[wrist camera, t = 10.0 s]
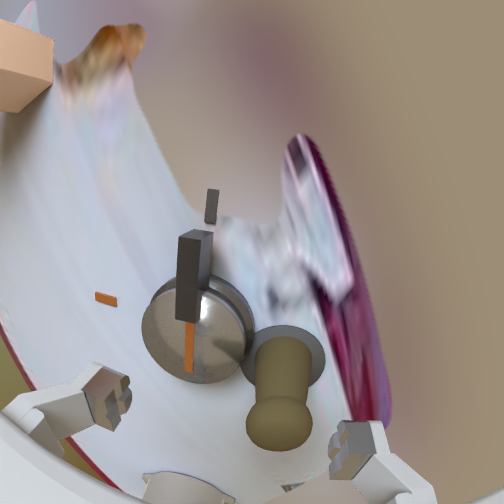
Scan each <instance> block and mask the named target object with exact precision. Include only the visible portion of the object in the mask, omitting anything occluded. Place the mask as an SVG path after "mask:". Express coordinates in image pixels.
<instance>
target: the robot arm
mask: <svg viewBox="0 0 504 504" xmlns="http://www.w3.org/2000/svg"><path fill="white" fill-rule="evenodd" d="M129 384H130V380H129V376H127V375H125V374H122V373H120V372H117V371H115V370H113V369H110V368H108V367H106V366H103V365H101V364H99V363H97V362H93V363H91V364H90V365H89V366H88V367H87V368H86V369H85V370H84V371H83V372H82V373H81V374H80V375H79V376H78V377H77V378H76V379H75V380H74V381H73V382H72V383H71V384H68V383H65V384H61V385H57V386H54V387H50V388H46V389H41V390H37V391H33V392H29V393H24V394H20V395H18V396H17V397H16V398H15V399H14V400H13V401H12V402H11V403H10V404H9V405H8V406H6V408H4V409H3V410H2V411H1V412H0V504H234V502H235V499H234V498H232V497H230V496H228V495H225V494H223V493H222V492H220V491H219V490H218V489H216V488H215V487H213V486H211V485H210V484H208V483H205V482H203V481H201V480H198V479H195V478H193V477H189V476H186V475H182V474H178V473H172V472H158V473H155V474H143V477H142V478H143V480H144V481H145V483H146V484H147V485H146V488H145V490H144V493H143V495H142V498H141V499H139V498H136V497H134V496H131V495H129V494H127V493H124V492H122V491H120V490H118V489H115V488H113V487H111V486H109V485H107V484H105V483H103V482H101V481H99V480H97V479H95V478H93V477H91V476H90V475H88V474H86V473H84V472H82V471H81V470H79V469H77V468H75V467H74V466H72V465H70V464H69V463H67V462H65V461H64V460H62V459H61V457H62V456H63V455H64V450H63V448H62V447H61V445H60V443H59V440H62V439H64V438H66V437H68V436H71V435H73V434H75V433H77V432H80V431H82V430H84V429H86V428H88V427H90V426H92V425H95V424H97V425H99V426H102V427H104V428H106V429H108V430H111V431H113V432H114V430H115V429H116V427H117V426H118V424H119V423H120V421H121V417H120V415H122V414H124V413H127V411H128V409H129V408H130V405H131V402H132V391H131V390H130V389H129V387H128V385H129ZM94 423H95V424H94ZM337 430H338V431H337V432H335V433H334V434H333V435H332V437H331V439H330V442H329V445H328V457H329V458H330V459H331V460H332V462H331V463H330V465H329V476H330V480H352V483H353V484H354V485H355V487H356V488H357V489H358V490H359V492H360V493H361V494H362V496H363V497H364V498H365V500H366V501H367V502H368V504H437V500H436V496H435V493H434V489H433V486H432V485H430V484H429V483H428V482H427V481H426V480H424V479H423V478H422V477H421V476H420V475H418V474H417V473H416V472H415V471H414V470H413V469H411V468H410V467H409V466H408V465H407V464H406V463H405V462H403V461H402V460H401V459H400V458H399V457H398V456H397V455H395V454H394V453H390V449H389V446H388V442H387V438H386V435H385V431H384V428H383V424H382V422H381V421H350V420H342V421H340V422H339V424H338V426H337ZM466 504H504V486H503V487H502V488H499V489H497V490H495V491H493V492H491V493H489V494H487V495H485V496H482V497H480V498H478V499H475V500H473V501H470V502H468V503H466Z"/></svg>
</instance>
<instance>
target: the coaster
mask: <svg viewBox="0 0 504 504" xmlns="http://www.w3.org/2000/svg"><path fill="white" fill-rule="evenodd" d="M279 336H285V337H292V338H296V339H299V340H300V341H302V342H303V343H305V344H306V345H307V347H308V348H309V349H310V351H311V354H312V365H311V373H310V380H309V387H310V386H311V385H312V384H314V383H315V382H316V381H317V380H318V378H319V377H320V376H321V374H322V372H323V370H324V367H325V353H324V350H323V347H322V345H321V343H320V342H319V341H318V339H317V338H316V337H315V336H313V335H312V334H311V333H309V332H308V331H306V330H304V329H301V328H298V327H294V326H288V325H278V326H272V327H268V328H265V329H262V330H260V331H258V332H257V333H255V334H254V335H253V340H252V344H251V347H250V349H249V352H248V353H247V355H246V357H245V358H244V359H243V360H242V361H241V362H240V364H241V368H242V371H243V373H244V375H245V377H246V378H247V379H248V380H249V381H250V382H251V383H252V384H253V385H254V386H255V354H256V352H257V349H258V348H259V347H260V346H261V345H262V344H263V343H264V342H266V341H267V340H269V339H271V338H275V337H279Z"/></svg>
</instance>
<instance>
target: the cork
mask: <svg viewBox="0 0 504 504" xmlns="http://www.w3.org/2000/svg"><path fill="white" fill-rule="evenodd" d="M311 365H312V354H311V351H310V349H309V348H308V347H307V345H306V344H305V343H303V342H302V341H300V340H299V339H296V338H292V337H285V336H279V337H275V338H271V339H269V340H267V341H266V342H264V343H263V344H262V345H261V346H260V347H259V348H258V349H257V352H256V354H255V388H256V404H255V405H254V406H253V407H252V408H251V410H250V412H249V414H248V416H247V419H246V431H247V434H248V436H249V437H250V439H251V441H252V442H253V443H254V444H255V445H257V446H258V447H260V448H263V449H265V450H270V451H288V450H292V449H295V448H297V447H299V446H301V445H302V444H303V443H304V442H305V441H306V440H307V438H308V437H309V436H310V434H311V430H312V425H313V422H312V417H311V414H310V411H309V409H308V408H307V407H306V400H307V394H308V387H309V380H310V373H311Z"/></svg>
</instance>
